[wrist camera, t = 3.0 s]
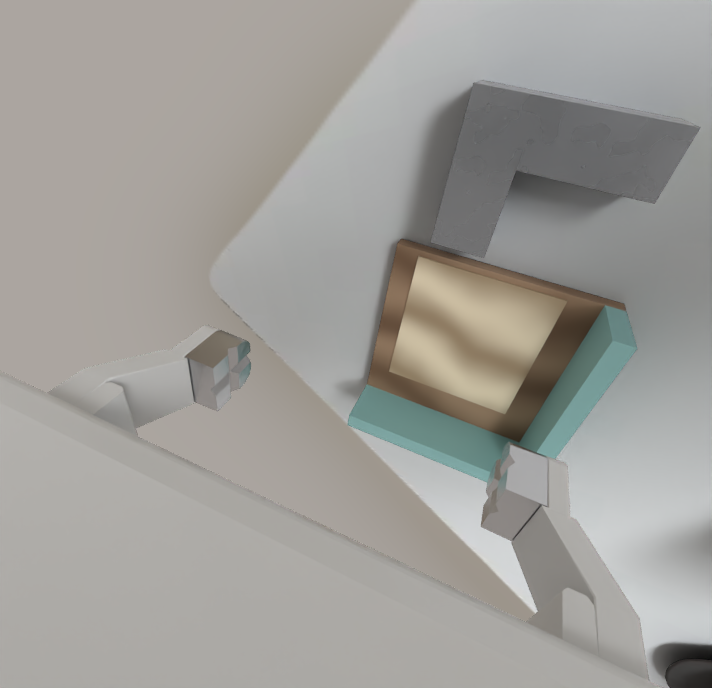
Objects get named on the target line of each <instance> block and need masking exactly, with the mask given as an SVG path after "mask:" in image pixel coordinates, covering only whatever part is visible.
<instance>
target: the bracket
mask: <svg viewBox="0 0 712 688" xmlns="http://www.w3.org/2000/svg"><path fill="white" fill-rule="evenodd" d="M699 129H700V127H698V126H696V125H694V124H692V123H690V122H687V121H685V120H683V119H680V118H675V117H670V116H665V115H659V114H654V113H649V112H644V111H639V110H634V109H629V108H624V107H618V106H613V105H608V104H603V103H598V102H593V101H588V100H583V99H577V98H572V97H567V96H562V95H557V94H552V93H547V92H541V91H536V90H531V89H526V88H521V87H516V86H511V85H506V84H500V83H495V82H490V81H485V80H481V81H478V82H474V83H473V87H472V90H471V94H470V98H469V102H468V105H467V109H466V113H465V116H464V120H463V124H462V127H461V131H460V135H459V139H458V142H457V146H456V150H455V153H454V157H453V161H452V164H451V168H450V172H449V175H448V179H447V183H446V187H445V190H444V194H443V198H442V201H441V205H440V209H439V212H438V216H437V220H436V224H435V227H434V231H433V235H432V238H431V243H434V244H438V245H441V246H445V247H448V248H451V249H455V250H458V251H462V252H465V253H469V254H472V255H475V256H479V257H482V258H484V256H485V254H486V251H487V248H488V246H489V243H490V240H491V237H492V235H493V232H494V229H495V227H496V224H497V221H498V218H499V216H500V213H501V210H502V208H503V205H504V202H505V199H506V197H507V194H508V191H509V189H510V186H511V183H512V180H513V178H514V175H515V172H516V171H520V172H524V173H528V174H532V175H536V176H541V177H545V178H549V179H553V180H557V181H561V182H566V183H570V184H574V185H578V186H582V187H586V188H591V189H595V190H599V191H603V192H607V193H612V194H616V195H620V196H624V197H628V198H632V199H637V200H641V201H645V202H649V203H653V204H655V202H656V200H657V199H658V197H659V195H660V194H661V192H662V190H663V189H664V187H665V185H666V184H667V182H668V180H669V179H670V177H671V175H672V174H673V172H674V170H675V169H676V167H677V165H678V164H679V162H680V160H681V159H682V157H683V155H684V154H685V152H686V151H687V149H688V147H689V146H690V144H691V142H692V141H693V139H694V137H695V136H696V134H697V132H698V131H699Z"/></svg>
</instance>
